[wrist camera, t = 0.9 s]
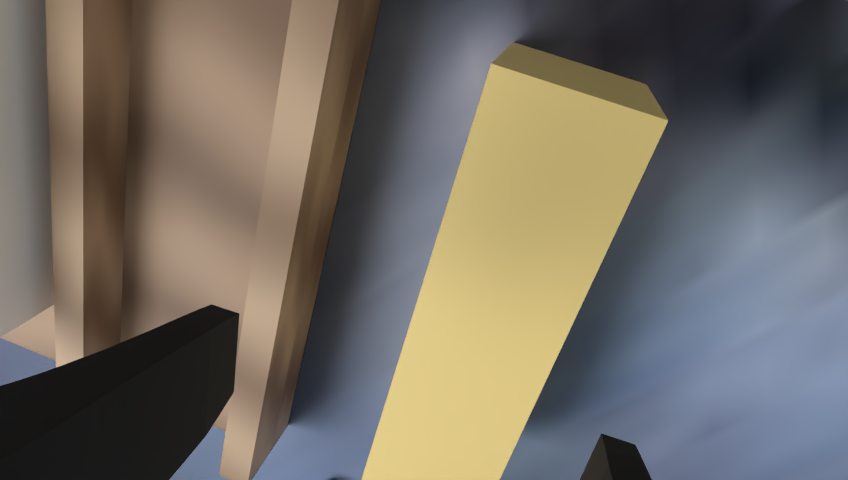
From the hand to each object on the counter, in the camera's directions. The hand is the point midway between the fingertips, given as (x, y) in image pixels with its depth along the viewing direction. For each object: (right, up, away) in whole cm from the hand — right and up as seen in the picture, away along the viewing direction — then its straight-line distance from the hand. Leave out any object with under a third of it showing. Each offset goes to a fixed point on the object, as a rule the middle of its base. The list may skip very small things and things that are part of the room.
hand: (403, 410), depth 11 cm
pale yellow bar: (+3, +3, +9) cm, 10 cm away
